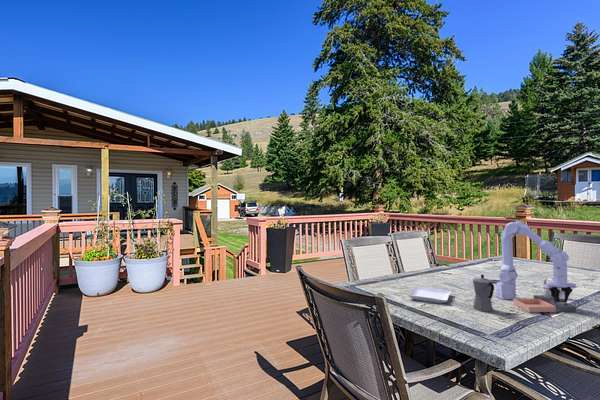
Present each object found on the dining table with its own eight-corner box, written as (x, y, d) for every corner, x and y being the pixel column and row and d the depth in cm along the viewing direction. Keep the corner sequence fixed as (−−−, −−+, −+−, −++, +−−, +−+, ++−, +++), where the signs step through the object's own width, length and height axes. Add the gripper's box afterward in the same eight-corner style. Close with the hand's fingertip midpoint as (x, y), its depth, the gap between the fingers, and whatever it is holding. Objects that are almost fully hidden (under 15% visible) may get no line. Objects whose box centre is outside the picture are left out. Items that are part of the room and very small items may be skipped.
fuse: (546, 303, 185) (545, 286, 185) (541, 301, 189) (540, 285, 189) (553, 303, 185) (552, 286, 185) (548, 301, 189) (548, 285, 189)
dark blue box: (559, 299, 192) (559, 279, 192) (542, 296, 198) (542, 277, 198) (562, 297, 195) (562, 278, 195) (546, 294, 201) (545, 275, 201)
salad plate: (452, 295, 204) (452, 290, 204) (447, 306, 186) (447, 299, 186) (415, 291, 215) (415, 286, 215) (407, 300, 196) (407, 294, 196)
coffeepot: (466, 305, 185) (466, 272, 185) (483, 304, 186) (482, 271, 186) (485, 315, 170) (484, 279, 169) (502, 314, 170) (502, 278, 170)
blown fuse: (559, 309, 175) (559, 292, 175) (554, 307, 179) (554, 289, 179) (567, 309, 175) (566, 291, 175) (561, 307, 179) (561, 289, 179)
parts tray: (529, 312, 172) (529, 306, 172) (513, 304, 185) (513, 298, 185) (555, 312, 171) (555, 306, 171) (538, 303, 185) (538, 298, 185)
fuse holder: (559, 311, 172) (559, 306, 172) (533, 299, 192) (533, 295, 192) (576, 311, 172) (576, 306, 172) (548, 299, 192) (548, 295, 192)
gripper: (551, 277, 173) (551, 304, 173) (580, 277, 172) (581, 303, 173) (541, 274, 180) (542, 300, 180) (570, 273, 179) (570, 299, 180)
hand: (560, 301), depth 177 cm, fingers closed on blown fuse, 4 cm apart
